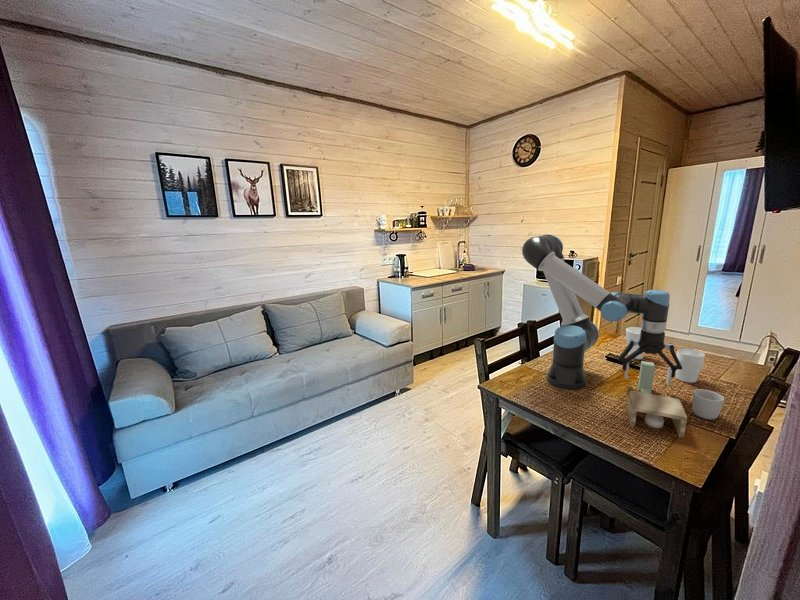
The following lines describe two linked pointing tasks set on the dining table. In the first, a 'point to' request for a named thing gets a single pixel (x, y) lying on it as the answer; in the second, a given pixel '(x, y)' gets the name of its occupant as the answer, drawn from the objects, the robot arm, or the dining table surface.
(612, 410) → the dining table surface
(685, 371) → the cup
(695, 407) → the cup
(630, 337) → the cup
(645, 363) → the sage green mallet
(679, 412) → the beige arch
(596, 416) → the dining table surface
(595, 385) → the dining table surface
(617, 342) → the dining table surface
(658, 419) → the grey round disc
